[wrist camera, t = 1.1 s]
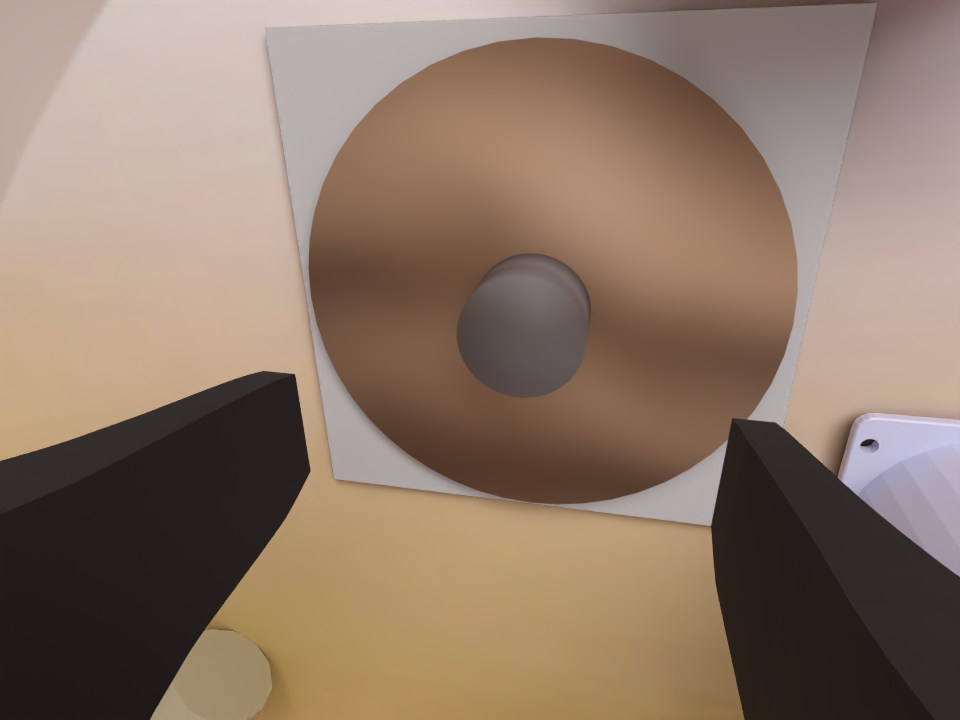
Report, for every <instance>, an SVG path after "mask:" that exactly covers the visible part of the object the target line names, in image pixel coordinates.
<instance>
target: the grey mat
mask: <svg viewBox="0 0 960 720" xmlns="http://www.w3.org/2000/svg"><path fill="white" fill-rule="evenodd" d="M877 5H878V3H860V4H835V5H811V6H786V7H762V8H737V9H713V10H688V11H664V12H639V13H615V14H590V15H566V16H541V17H517V18H492V19H467V20H443V21H418V22H394V23H369V24H345V25H320V26H296V27H271V28H265V32H266V39H267V45H268V52H269V58H270V65H271V71H272V78H273V84H274V91H275V97H276V104H277V110H278V117H279V123H280V130H281V136H282V143H283V149H284V156H285V162H286V169H287V175H288V182H289V188H290V195H291V201H292V208H293V214H294V221H295V227H296V234H297V240H298V247H299V253H300V259H301V266H302V272H303V279H304V285H305V292H306V298H307V305H308V311H309V318H310V324H311V331H312V337H313V344H314V350H315V357H316V363H317V370H318V376H319V383H320V389H321V396H322V402H323V409H324V415H325V422H326V428H327V435H328V441H329V448H330V454H331V461H332V467H333V474H334V479H339V480H347V481H355V482H363V483H371V484H379V485H387V486H395V487H403V488H411V489H419V490H427V491H435V492H443V493H451V494H459V495H467V496H475V497H483V498H491V499H499V500H507V501H515V502H523V503H530V502H524V501H519V500H513V499H507V498H502V497H499V496H495V495H492V494H488V493H485V492H481V491H478V490H475V489H473V488H470V487H468V486H465V485H463V484H460V483H458V482H455V481H453V480H451V479H449V478H447V477H445V476H443V475H441V474H439V473H437V472H436V471H434V470H432V469H430V468H428V467H427V466H425V465H424V464H422V463H421V462H419V461H418V460H416V459H415V458H413V457H412V456H410V455H409V454H407V453H406V452H405V451H403V450H402V449H401V448H400V447H399V446H397V445H396V444H395V443H394V442H393V441H391V440H390V439H389V438H388V437H387V436H386V435H385V434H384V433H383V432H382V431H381V430H380V429H379V428H378V427H377V426H376V425H375V424H374V423H373V422H372V421H371V420H370V419H369V418H368V417H367V416H366V414H365V413H364V412H363V411H362V409H361V408H360V407H359V406H358V404H357V403H356V402H355V401H354V399H353V398H352V397H351V395H350V394H349V392H348V390H347V389H346V387H345V386H344V384H343V382H342V381H341V379H340V378H339V376H338V374H337V372H336V370H335V368H334V366H333V364H332V362H331V360H330V358H329V356H328V354H327V352H326V349H325V346H324V344H323V341H322V338H321V335H320V332H319V329H318V326H317V323H316V318H315V314H314V309H313V304H312V300H311V292H310V281H309V270H308V266H309V240H310V234H311V228H312V222H313V217H314V211H315V208H316V205H317V201H318V198H319V195H320V192H321V189H322V185H323V183H324V180H325V178H326V176H327V174H328V172H329V170H330V168H331V166H332V163H333V161H334V159H335V157H336V155H337V154H338V152H339V151H340V149H341V148H342V146H343V144H344V143H345V141H346V140H347V138H348V137H349V135H350V134H351V132H352V131H353V129H354V128H355V127H356V126H357V125H358V124H359V122H360V121H361V120H362V119H363V118H364V117H365V116H366V115H367V113H368V112H369V111H370V110H371V109H372V108H373V107H374V106H375V104H377V103H378V102H379V101H380V100H381V99H383V98H384V97H385V96H386V95H387V94H389V93H390V92H391V91H392V90H393V89H394V88H396V87H397V86H398V85H399V84H400V83H402V82H403V81H405V80H407V79H408V78H410V77H412V76H413V75H415V74H416V73H418V72H420V71H421V70H423V69H425V68H426V67H428V66H429V65H431V64H434V63H436V62H438V61H441V60H443V59H445V58H448V57H450V56H452V55H455V54H457V53H459V52H462V51H464V50H468V49H472V48H476V47H479V46H483V45H487V44H491V43H495V42H498V41H507V40H516V39H526V38H535V37H539V38H565V39H577V40H583V41H588V42H593V43H599V44H604V45H609V46H613V47H616V48H619V49H622V50H625V51H628V52H630V53H633V54H636V55H639V56H642V57H645V58H648V59H650V60H652V61H654V62H656V63H657V64H659V65H661V66H663V67H665V68H667V69H669V70H671V71H673V72H674V73H676V74H678V75H680V76H682V77H684V78H685V79H686V80H688V81H689V82H690V83H692V84H693V85H695V86H696V87H697V88H699V89H700V90H701V91H703V92H704V93H705V94H707V95H708V96H709V97H711V98H712V99H713V100H715V101H716V102H717V103H718V104H719V105H720V106H721V107H722V108H723V109H724V110H725V111H726V112H727V113H728V114H729V115H730V116H731V117H732V118H733V119H734V120H735V121H736V122H737V123H738V124H739V125H740V126H741V128H742V129H743V130H744V132H745V133H746V134H747V136H748V137H749V139H750V140H751V141H752V143H753V144H754V145H755V147H756V148H757V150H758V151H759V152H760V154H761V155H762V156H763V158H764V160H765V162H766V164H767V166H768V168H769V170H770V171H771V173H772V175H773V177H774V179H775V181H776V183H777V185H778V187H779V189H780V191H781V194H782V197H783V200H784V203H785V206H786V209H787V212H788V215H789V218H790V221H791V224H792V230H793V236H794V242H795V248H796V254H797V274H798V294H797V302H796V309H795V316H794V324H793V328H792V331H791V335H790V338H789V341H788V345H787V348H786V352H785V355H784V358H783V360H782V362H781V364H780V366H779V368H778V371H777V373H776V375H775V377H774V379H773V382H772V384H771V385H770V387H769V389H768V390H767V392H766V393H765V395H764V396H763V398H762V400H761V401H760V403H759V404H758V406H757V407H756V409H755V410H754V412H753V413H752V414H751V415H750V416H749V417H748V419H747V420H757V421H767V422H776V423H777V424H778V425H780V426H781V427H782V428H783V424H784V419H785V415H786V410H787V406H788V402H789V397H790V393H791V388H792V384H793V379H794V375H795V370H796V366H797V361H798V357H799V353H800V348H801V344H802V339H803V335H804V330H805V326H806V321H807V317H808V312H809V308H810V304H811V299H812V295H813V290H814V286H815V281H816V277H817V272H818V268H819V263H820V259H821V254H822V250H823V246H824V241H825V237H826V232H827V228H828V223H829V219H830V214H831V210H832V205H833V201H834V197H835V192H836V188H837V183H838V179H839V174H840V170H841V165H842V161H843V156H844V152H845V148H846V143H847V139H848V134H849V130H850V125H851V121H852V116H853V112H854V107H855V103H856V98H857V94H858V90H859V85H860V81H861V76H862V72H863V67H864V63H865V58H866V54H867V49H868V45H869V41H870V36H871V32H872V27H873V23H874V18H875V14H876V9H877ZM727 442H728V440H727V441H726V442H725V443H724V444H722V445H721V446H720V447H719V448H718V449H717V450H716V451H715V452H714V453H712V454H711V455H709V456H708V457H706V458H705V459H704V460H702V461H701V462H699V463H698V464H696V465H695V466H693V467H692V468H691V469H689V470H687V471H685V472H683V473H681V474H680V475H678V476H676V477H674V478H672V479H670V480H668V481H666V482H664V483H662V484H659V485H657V486H654V487H651V488H649V489H646V490H644V491H641V492H638V493H635V494H631V495H627V496H623V497H619V498H615V499H611V500H605V501H598V502H591V503H583V504H544V503H531V504H539V505H547V506H555V507H563V508H571V509H579V510H588V511H596V512H604V513H612V514H620V515H628V516H636V517H644V518H652V519H660V520H668V521H676V522H684V523H692V524H700V525H708V526H711V523H712V518H713V513H714V508H715V503H716V498H717V493H718V488H719V483H720V478H721V472H722V467H723V462H724V457H725V452H726V447H727Z"/></svg>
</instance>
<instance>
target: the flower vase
mask: <svg viewBox="0 0 960 720" xmlns="http://www.w3.org/2000/svg"><path fill="white" fill-rule="evenodd" d="M271 690H272V679H271V671H270V663H269V662H268V660H267V659H266V657H265V656H264V654H263V653H262V652H261V650H260V649H259V647H258V646H257V645H256V644H255V643H253V642H251V641H250V640H248V639H247V638H245V637H244V636H242V635H241V634H239V633H237V632H235V631H227V630H214V629H208V630H206V631H204V632H203V633H202V635H201V636H200V638H199V639H198V640H197V642H196V643H195V645H194V646H193V648H192V649H191V651H190V652H189V654H188V656H187V657H186V659H185V661H184V663H183V664H182V666H181V668H180V669H179V671H178V673H177V674H176V676H175V678H174V679H173V681H172V683H171V684H170V686H169V688H168V690H167V691H166V693H165V695H164V696H163V698H162V700H161V701H160V703H159V705H158V706H157V708H156V710H155V712H154V713H153V715H152V717H151V719H150V720H252V719H253V718H254V717H255V716H256V715H257V714H258V713H259V712H260V711H261V710H262V709H263V707H264V705H265V703H266V701H267V699H268V696H269V694H270V692H271Z"/></svg>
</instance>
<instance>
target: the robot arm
mask: <svg viewBox="0 0 960 720" xmlns="http://www.w3.org/2000/svg"><path fill="white" fill-rule="evenodd" d="M866 439H874V440H875V441H874V442H873V443H872V444H871V445H869V446H860V444H861V443H862V442H863V441H865V440H866ZM309 473H310V465H309V459H308V452H307V446H306V440H305V434H304V427H303V421H302V415H301V408H300V402H299V396H298V390H297V383H296V377H295V374H288V373H278V372H268V371H262V372H258V373H254V374H250V375H247V376H243V377H240V378H237V379H234V380H231V381H229V382H226V383H223V384H220V385H218V386H215V387H212V388H209V389H207V390H204V391H202V392H199V393H196V394H194V395H191V396H189V397H186V398H183V399H181V400H178V401H176V402H173V403H171V404H168V405H165V406H163V407H160V408H158V409H155V410H152V411H150V412H147V413H145V414H142V415H139V416H136V417H134V418H131V419H128V420H125V421H123V422H120V423H117V424H114V425H111V426H109V427H106V428H103V429H100V430H97V431H95V432H92V433H89V434H86V435H83V436H81V437H78V438H75V439H72V440H69V441H66V442H63V443H60V444H57V445H53V446H50V447H47V448H44V449H40V450H37V451H34V452H30V453H27V454H23V455H20V456H16V457H13V458H9V459H6V460H2V461H0V720H150V719H151V717H152V715H153V713H154V712H155V710H156V708H157V706H158V705H159V703H160V701H161V700H162V698H163V696H164V695H165V693H166V691H167V690H168V688H169V686H170V684H171V683H172V681H173V679H174V678H175V676H176V674H177V673H178V671H179V669H180V668H181V666H182V664H183V663H184V661H185V659H186V657H187V656H188V654H189V652H190V651H191V649H192V648H193V646H194V645H195V643H196V642H197V640H198V639H199V638H200V636H201V635H202V633H203V632H204V630H205V629H206V627H207V626H208V624H209V623H210V622H211V620H212V619H213V617H214V616H215V615H216V613H217V612H218V611H219V609H220V608H221V607H222V605H223V604H224V603H225V601H226V600H227V598H228V597H229V596H230V594H231V593H232V592H233V590H234V589H235V588H236V586H237V585H238V584H239V582H240V581H241V579H242V578H243V577H244V575H245V574H246V573H247V571H248V570H249V569H250V567H251V566H252V565H253V563H254V562H255V560H256V559H257V558H258V556H259V555H260V554H261V552H262V551H263V549H264V548H265V547H266V545H267V544H268V542H269V541H270V540H271V538H272V537H273V536H274V534H275V533H276V531H277V530H278V529H279V527H280V526H281V524H282V523H283V521H284V520H285V518H286V517H287V515H288V513H289V511H290V509H291V508H292V506H293V504H294V502H295V500H296V499H297V497H298V495H299V493H300V491H301V489H302V487H303V485H304V483H305V481H306V479H307V477H308V475H309ZM711 530H712V544H713V558H714V569H715V580H716V587H717V592H718V597H719V602H720V607H721V612H722V616H723V621H724V626H725V631H726V635H727V640H728V645H729V649H730V654H731V658H732V663H733V668H734V672H735V677H736V681H737V686H738V691H739V695H740V700H741V704H742V709H743V714H744V718H745V720H960V420H956V419H944V418H932V417H920V416H908V415H896V414H884V413H866V414H863V415H860V416H859V417H858V418H857V419H855V421H854V422H853V424H852V427H851V431H850V434H849V438H848V441H847V445H846V448H845V452H844V455H843V459H842V463H841V466H840V470H839V473H838V477H836V476H835V475H834V474H833V473H832V472H831V471H830V470H828V469H827V468H826V467H825V466H824V465H823V464H822V463H821V462H820V461H819V460H818V459H816V458H815V457H814V456H813V455H812V454H811V453H810V452H809V451H808V450H807V449H806V448H805V447H803V446H802V445H801V444H800V443H799V442H798V441H797V440H796V439H795V438H794V437H792V436H791V435H790V434H789V433H788V432H787V431H786V430H785V429H783V428H782V427H781V426H780V425H778V424H777V423H776V422H767V421H757V420H747V419H737V418H732V422H731V427H730V432H729V437H728V442H727V447H726V452H725V457H724V462H723V467H722V472H721V478H720V483H719V488H718V493H717V498H716V503H715V508H714V513H713V518H712V523H711Z"/></svg>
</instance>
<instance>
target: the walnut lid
mask: <svg viewBox="0 0 960 720" xmlns="http://www.w3.org/2000/svg"><path fill="white" fill-rule="evenodd" d="M308 270H309V281H310V292H311V300H312V304H313V309H314V314H315V318H316V323H317V326H318V329H319V332H320V335H321V338H322V341H323V344H324V346H325V349H326V352H327V354H328V356H329V358H330V360H331V362H332V364H333V366H334V368H335V370H336V372H337V374H338V376H339V378H340V379H341V381H342V382H343V384H344V386H345V387H346V389H347V390H348V392H349V394H350V395H351V397H352V398H353V399H354V401H355V402H356V403H357V404H358V406H359V407H360V408H361V409H362V411H363V412H364V413H365V414H366V416H367V417H368V418H369V419H370V420H371V421H372V422H373V423H374V424H375V425H376V426H377V427H378V428H379V429H380V430H381V431H382V432H383V433H384V434H385V435H386V436H387V437H388V438H389V439H390V440H391V441H393V442H394V443H395V444H396V445H397V446H399V447H400V448H401V449H402V450H403V451H405V452H406V453H407V454H409V455H410V456H412V457H413V458H415V459H416V460H418V461H419V462H421V463H422V464H424V465H425V466H427V467H428V468H430V469H432V470H434V471H436V472H437V473H439V474H441V475H443V476H445V477H447V478H449V479H451V480H453V481H455V482H458V483H460V484H463V485H465V486H468V487H470V488H473V489H475V490H478V491H481V492H485V493H488V494H492V495H495V496H499V497H502V498H507V499H513V500H519V501H524V502H530V503H544V504H583V503H591V502H598V501H605V500H611V499H615V498H619V497H623V496H627V495H631V494H635V493H638V492H641V491H644V490H646V489H649V488H651V487H654V486H657V485H659V484H662V483H664V482H666V481H668V480H670V479H672V478H674V477H676V476H678V475H680V474H681V473H683V472H685V471H687V470H689V469H691V468H692V467H693V466H695V465H696V464H698V463H699V462H701V461H702V460H704V459H705V458H706V457H708V456H709V455H711V454H712V453H714V452H715V451H716V450H717V449H718V448H719V447H720V446H721V445H722V444H724V443H725V442H726V441H727V440H728V437H729V432H730V427H731V422H732V418H737V419H748V417H749V416H750V415H751V414H752V413H753V412H754V410H755V409H756V407H757V406H758V404H759V403H760V401H761V400H762V398H763V396H764V395H765V393H766V392H767V390H768V389H769V387H770V385H771V384H772V382H773V379H774V377H775V375H776V373H777V371H778V368H779V366H780V364H781V362H782V360H783V358H784V355H785V352H786V348H787V345H788V341H789V338H790V335H791V331H792V328H793V324H794V316H795V309H796V302H797V294H798V274H797V254H796V248H795V242H794V236H793V230H792V224H791V221H790V218H789V215H788V212H787V209H786V206H785V203H784V200H783V197H782V194H781V191H780V189H779V187H778V185H777V183H776V181H775V179H774V177H773V175H772V173H771V171H770V170H769V168H768V166H767V164H766V162H765V160H764V158H763V156H762V155H761V154H760V152H759V151H758V150H757V148H756V147H755V145H754V144H753V143H752V141H751V140H750V139H749V137H748V136H747V134H746V133H745V132H744V130H743V129H742V128H741V126H740V125H739V124H738V123H737V122H736V121H735V120H734V119H733V118H732V117H731V116H730V115H729V114H728V113H727V112H726V111H725V110H724V109H723V108H722V107H721V106H720V105H719V104H718V103H717V102H716V101H715V100H713V99H712V98H711V97H709V96H708V95H707V94H705V93H704V92H703V91H701V90H700V89H699V88H697V87H696V86H695V85H693V84H692V83H690V82H689V81H688V80H686V79H685V78H684V77H682V76H680V75H678V74H676V73H674V72H673V71H671V70H669V69H667V68H665V67H663V66H661V65H659V64H657V63H656V62H654V61H652V60H650V59H648V58H645V57H642V56H639V55H636V54H633V53H630V52H628V51H625V50H622V49H619V48H616V47H613V46H609V45H604V44H599V43H593V42H588V41H583V40H577V39H565V38H539V37H535V38H526V39H516V40H507V41H498V42H495V43H491V44H487V45H483V46H479V47H476V48H472V49H468V50H464V51H462V52H459V53H457V54H455V55H452V56H450V57H448V58H445V59H443V60H441V61H438V62H436V63H434V64H431V65H429V66H428V67H426V68H425V69H423V70H421V71H420V72H418V73H416V74H415V75H413V76H412V77H410V78H408V79H407V80H405V81H403V82H402V83H400V84H399V85H398V86H397V87H396V88H394V89H393V90H392V91H391V92H390V93H389V94H387V95H386V96H385V97H384V98H383V99H381V100H380V101H379V102H378V103H377V104H375V106H374V107H373V108H372V109H371V110H370V111H369V112H368V113H367V115H366V116H365V117H364V118H363V119H362V120H361V121H360V122H359V124H358V125H357V126H356V127H355V128H354V129H353V131H352V132H351V134H350V135H349V137H348V138H347V140H346V141H345V143H344V144H343V146H342V148H341V149H340V151H339V152H338V154H337V155H336V157H335V159H334V161H333V163H332V166H331V168H330V170H329V172H328V174H327V176H326V178H325V180H324V183H323V185H322V189H321V192H320V195H319V198H318V201H317V205H316V208H315V211H314V217H313V222H312V228H311V234H310V240H309V266H308Z"/></svg>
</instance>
